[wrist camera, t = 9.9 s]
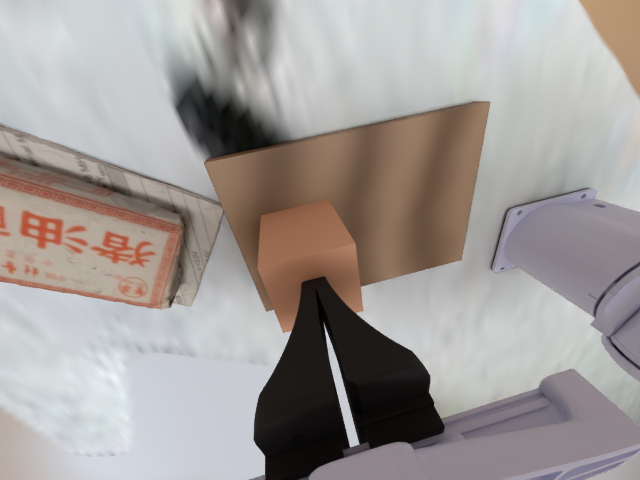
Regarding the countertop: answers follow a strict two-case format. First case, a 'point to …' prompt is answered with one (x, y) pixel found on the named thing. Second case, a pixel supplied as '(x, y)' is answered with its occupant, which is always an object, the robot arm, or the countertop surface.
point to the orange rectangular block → (306, 257)
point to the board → (366, 188)
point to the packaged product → (98, 227)
